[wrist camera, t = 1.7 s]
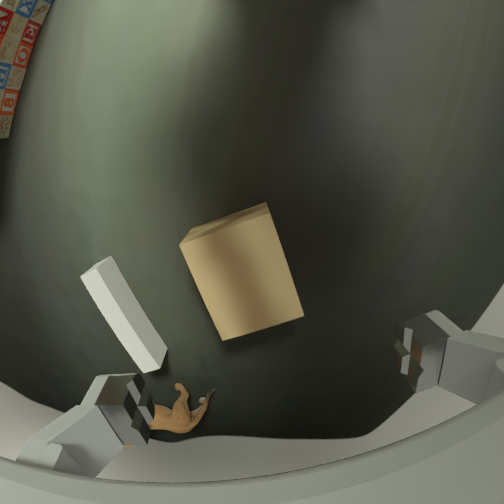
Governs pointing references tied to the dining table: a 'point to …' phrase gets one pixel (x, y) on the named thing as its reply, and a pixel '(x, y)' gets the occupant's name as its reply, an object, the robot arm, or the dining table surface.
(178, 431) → the lion figurine
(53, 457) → the robot arm
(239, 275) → the oak block
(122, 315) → the fence board
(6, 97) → the stack of blocks
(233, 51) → the dining table surface
